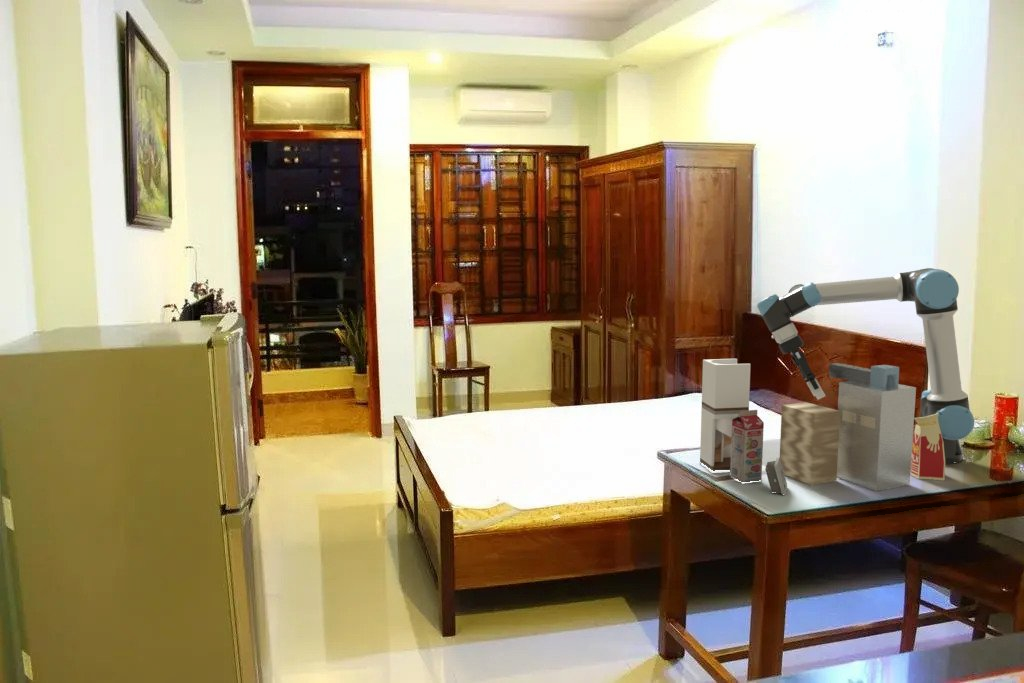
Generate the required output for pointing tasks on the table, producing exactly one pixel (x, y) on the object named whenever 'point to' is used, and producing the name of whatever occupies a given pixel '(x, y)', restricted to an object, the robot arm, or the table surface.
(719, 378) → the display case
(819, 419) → the birch block
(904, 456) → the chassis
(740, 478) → the juice carton
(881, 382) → the bar
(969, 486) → the table surface
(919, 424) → the milk carton
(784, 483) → the electrical switch
